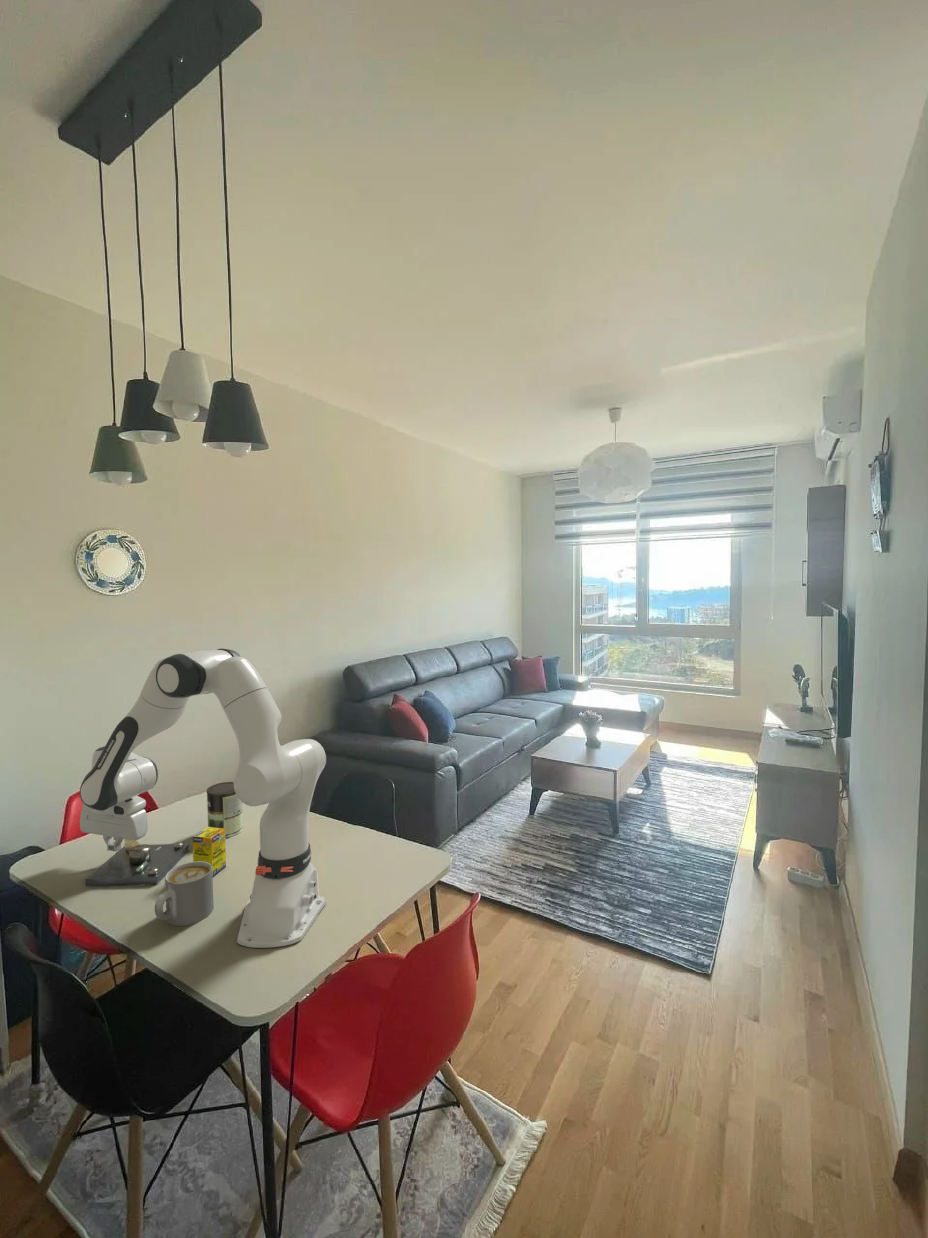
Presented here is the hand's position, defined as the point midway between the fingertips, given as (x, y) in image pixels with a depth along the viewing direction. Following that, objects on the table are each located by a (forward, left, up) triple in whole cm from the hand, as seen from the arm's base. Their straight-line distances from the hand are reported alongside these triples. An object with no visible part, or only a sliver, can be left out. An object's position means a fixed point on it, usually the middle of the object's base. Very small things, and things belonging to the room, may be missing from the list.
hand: (114, 850), depth 150 cm
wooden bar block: (0, -6, -1) cm, 6 cm away
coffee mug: (-26, -31, -4) cm, 40 cm away
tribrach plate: (-3, -9, -4) cm, 10 cm away
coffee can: (+18, -24, -4) cm, 30 cm away
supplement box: (-6, -29, -4) cm, 29 cm away
